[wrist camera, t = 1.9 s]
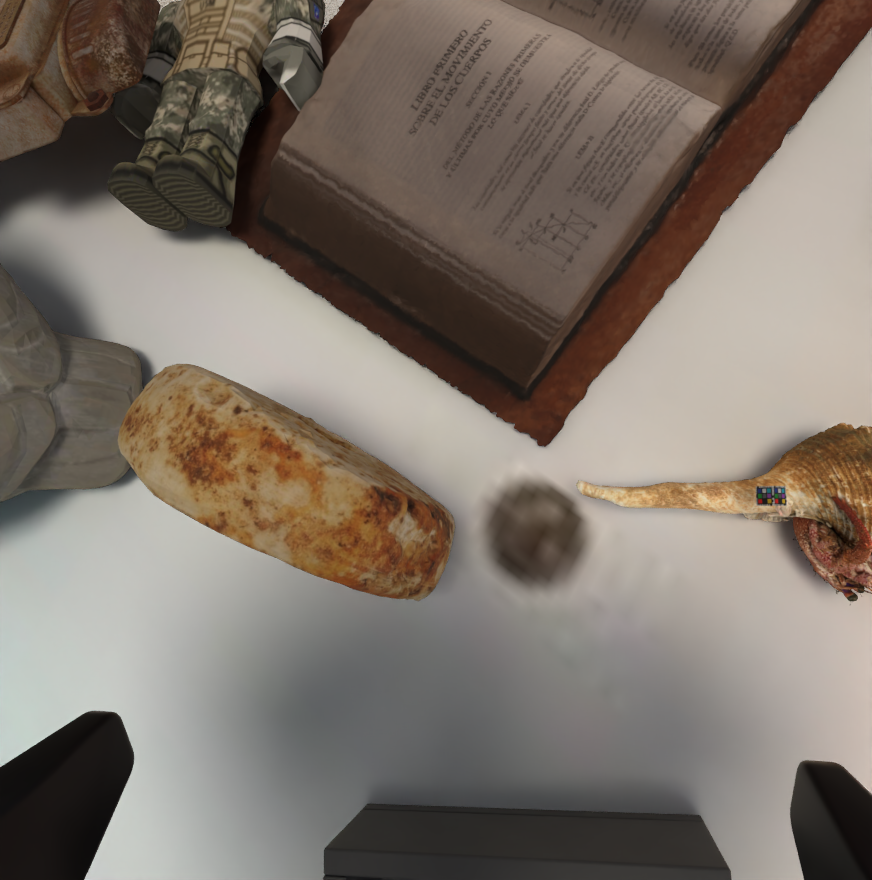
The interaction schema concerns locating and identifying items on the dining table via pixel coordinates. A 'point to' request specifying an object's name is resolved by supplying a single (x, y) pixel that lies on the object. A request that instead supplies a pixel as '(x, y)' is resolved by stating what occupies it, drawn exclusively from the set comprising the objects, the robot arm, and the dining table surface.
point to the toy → (209, 101)
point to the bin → (521, 845)
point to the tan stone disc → (284, 484)
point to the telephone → (66, 63)
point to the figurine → (59, 402)
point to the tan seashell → (792, 501)
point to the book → (526, 171)
